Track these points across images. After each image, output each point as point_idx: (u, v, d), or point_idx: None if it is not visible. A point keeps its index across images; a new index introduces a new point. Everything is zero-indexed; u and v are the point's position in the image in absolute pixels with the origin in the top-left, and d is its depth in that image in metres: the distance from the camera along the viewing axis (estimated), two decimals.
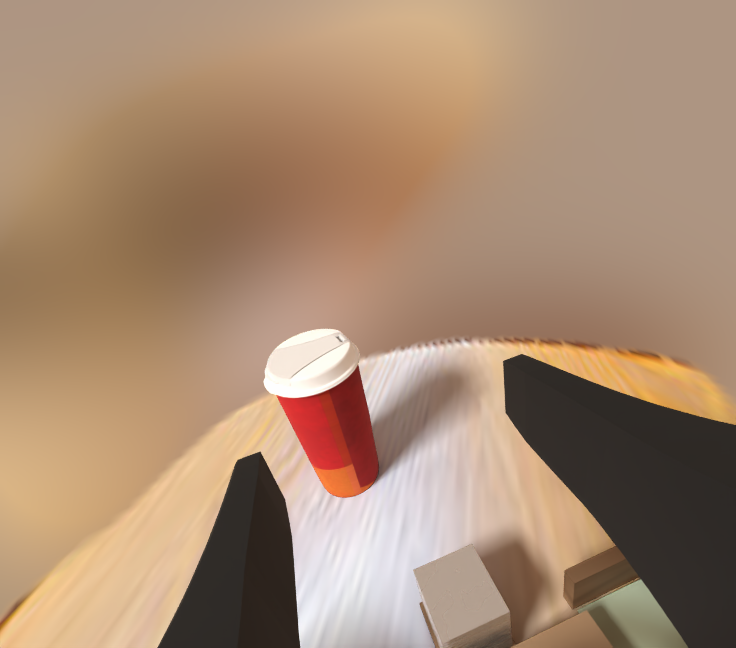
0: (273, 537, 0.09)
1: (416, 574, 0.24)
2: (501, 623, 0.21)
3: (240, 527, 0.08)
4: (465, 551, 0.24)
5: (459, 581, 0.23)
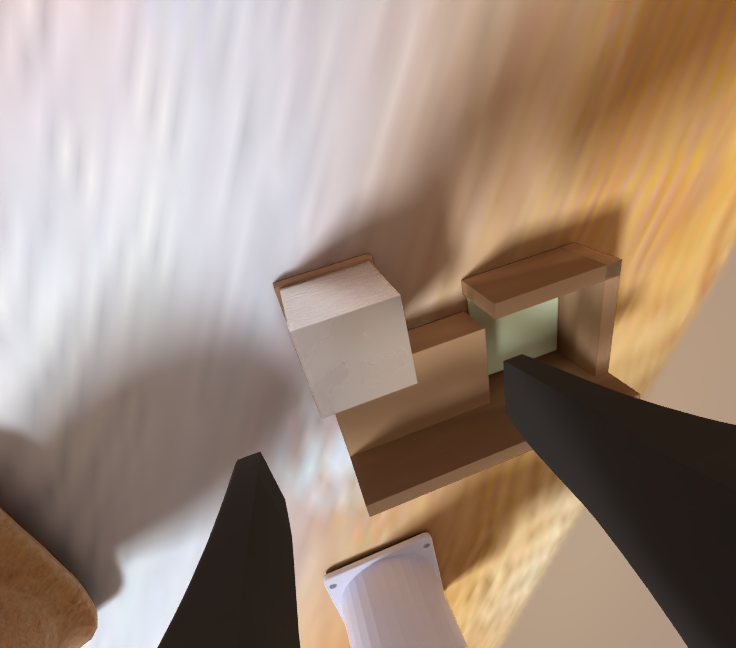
0: (273, 537, 0.09)
1: (294, 339, 0.13)
2: None
3: (240, 527, 0.08)
4: (386, 306, 0.14)
5: (363, 349, 0.14)
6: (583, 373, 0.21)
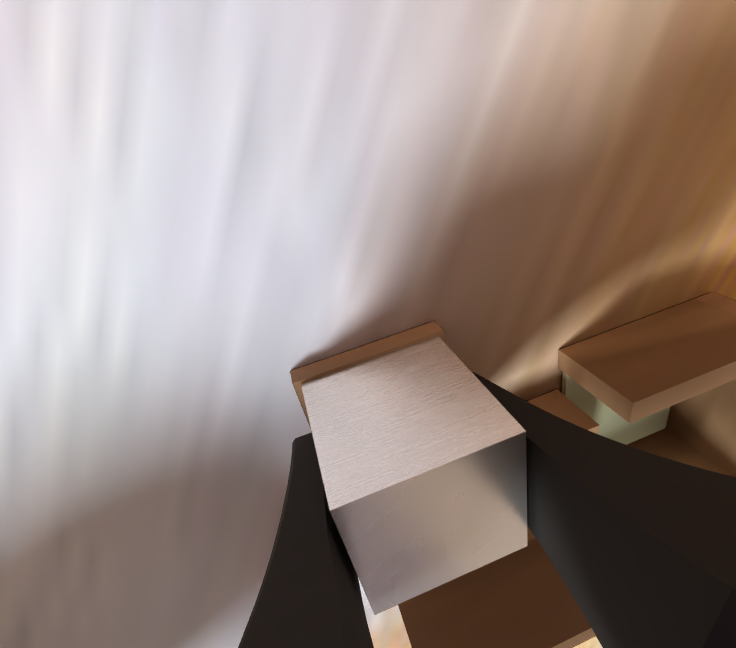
0: None
1: (338, 519, 0.07)
2: None
3: (314, 498, 0.08)
4: (500, 450, 0.08)
5: (453, 516, 0.08)
6: (716, 470, 0.15)
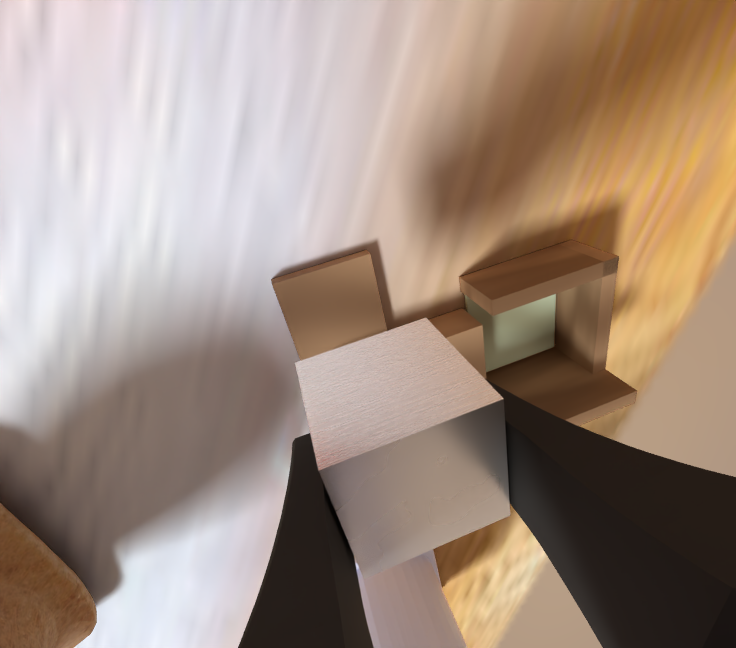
0: None
1: (327, 479, 0.08)
2: None
3: (314, 498, 0.08)
4: (479, 417, 0.08)
5: (437, 481, 0.09)
6: (581, 370, 0.22)
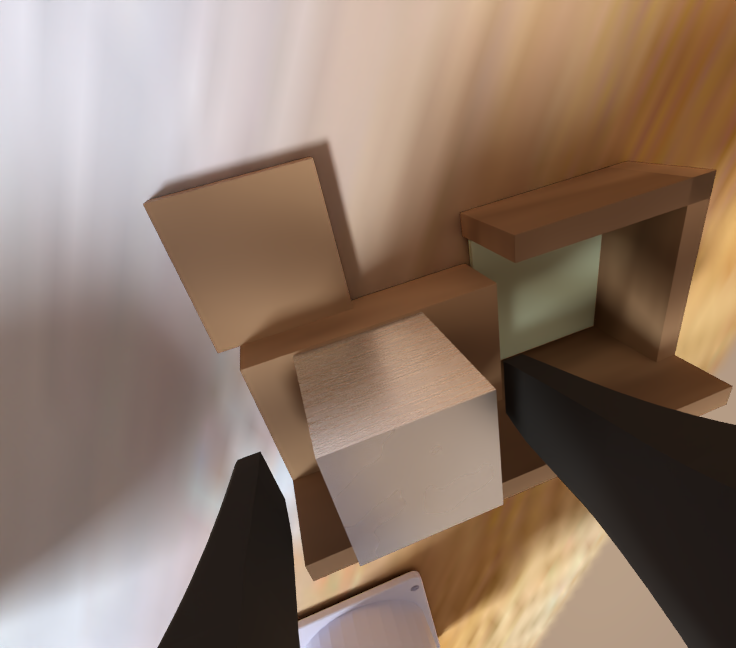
0: (273, 537, 0.09)
1: (324, 467, 0.08)
2: None
3: (240, 527, 0.08)
4: (472, 407, 0.08)
5: (431, 471, 0.09)
6: (638, 357, 0.15)
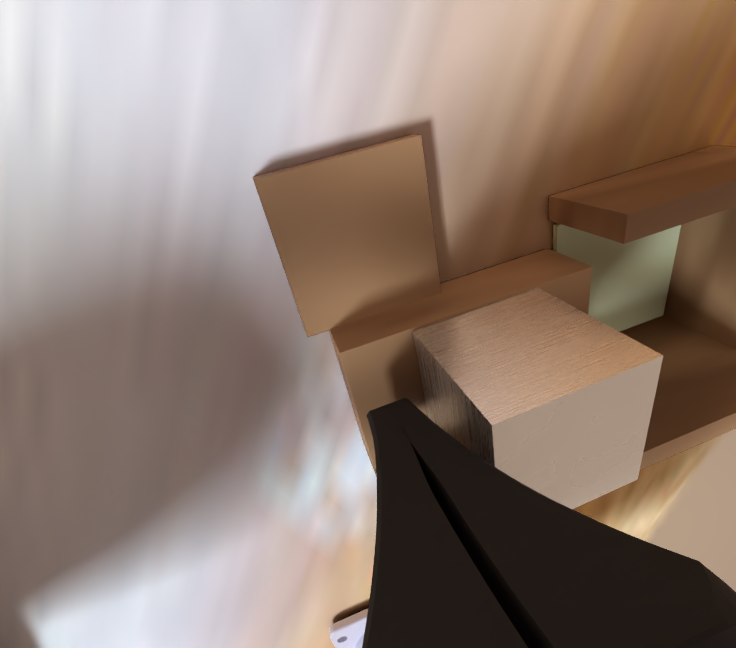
0: None
1: (496, 435, 0.08)
2: None
3: (407, 461, 0.08)
4: (639, 374, 0.08)
5: (586, 441, 0.09)
6: (717, 346, 0.15)
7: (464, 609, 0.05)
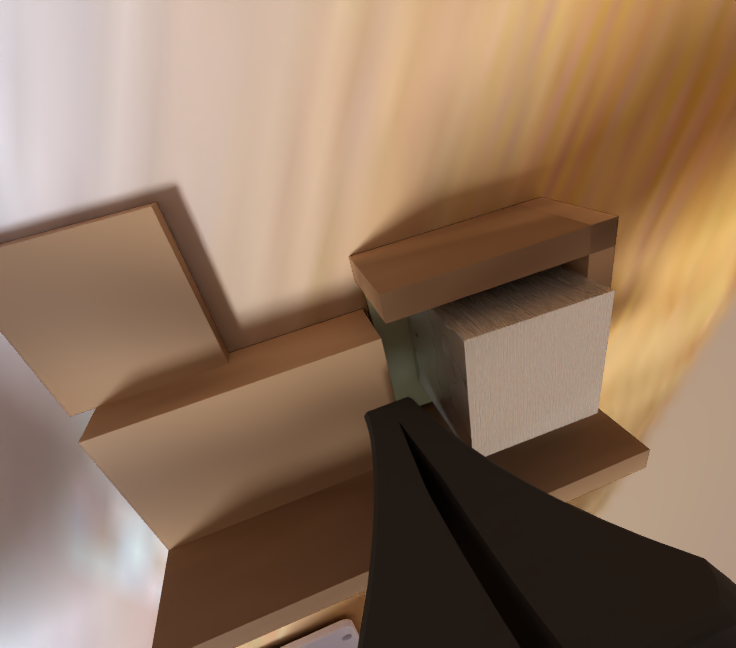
0: None
1: (610, 300, 0.10)
2: None
3: (404, 462, 0.08)
4: None
5: None
6: None
7: (459, 611, 0.05)
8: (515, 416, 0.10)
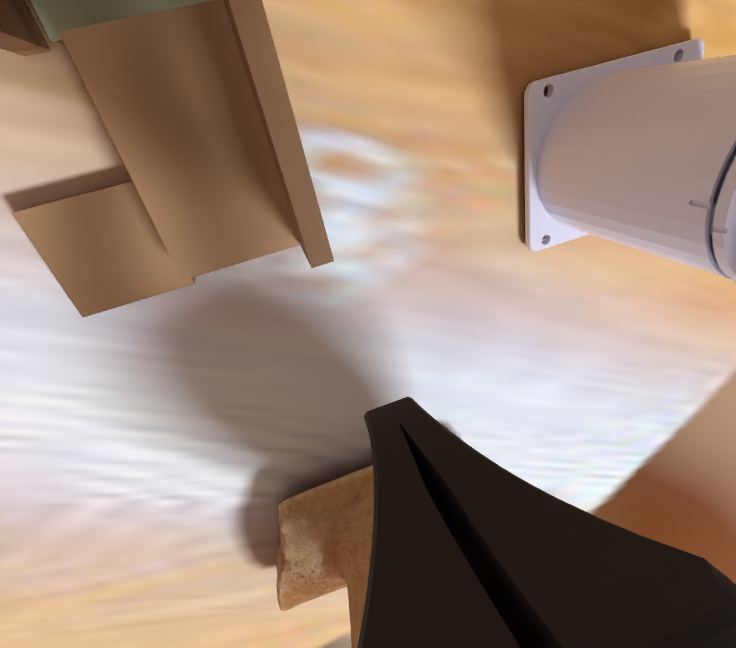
0: None
1: None
2: None
3: (404, 462, 0.08)
4: None
5: None
6: None
7: (459, 611, 0.05)
8: None
